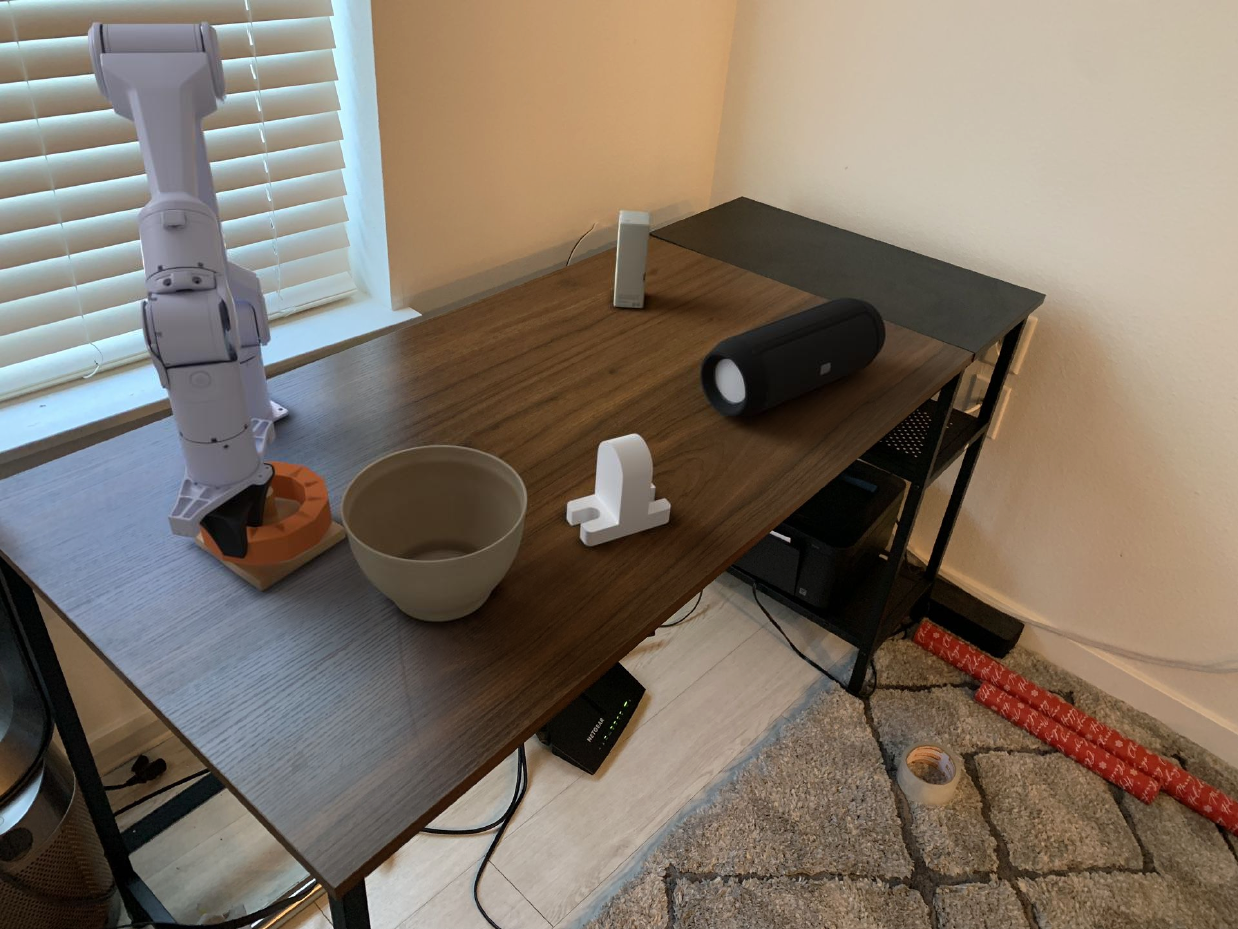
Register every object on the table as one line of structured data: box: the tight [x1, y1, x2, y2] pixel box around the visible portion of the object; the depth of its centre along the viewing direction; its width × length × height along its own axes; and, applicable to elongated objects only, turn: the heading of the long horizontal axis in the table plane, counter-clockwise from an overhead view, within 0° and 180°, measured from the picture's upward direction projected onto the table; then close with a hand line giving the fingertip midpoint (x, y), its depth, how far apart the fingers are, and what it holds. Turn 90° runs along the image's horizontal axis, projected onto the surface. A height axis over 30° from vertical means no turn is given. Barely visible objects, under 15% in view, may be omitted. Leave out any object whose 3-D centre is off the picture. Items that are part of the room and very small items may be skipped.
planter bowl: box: [339, 444, 528, 622], centre depth 86 cm, size 16×16×11 cm
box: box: [613, 209, 651, 309], centre depth 135 cm, size 5×4×13 cm
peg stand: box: [193, 486, 347, 592], centre depth 91 cm, size 10×10×6 cm
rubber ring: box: [199, 460, 333, 566], centre depth 90 cm, size 12×12×3 cm
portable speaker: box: [699, 297, 887, 418], centre depth 119 cm, size 26×10×10 cm, turn 129°
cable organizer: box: [566, 433, 671, 547], centre depth 96 cm, size 5×10×10 cm, turn 119°
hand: (242, 545), depth 86 cm, fingers closed on rubber ring, 2 cm apart
